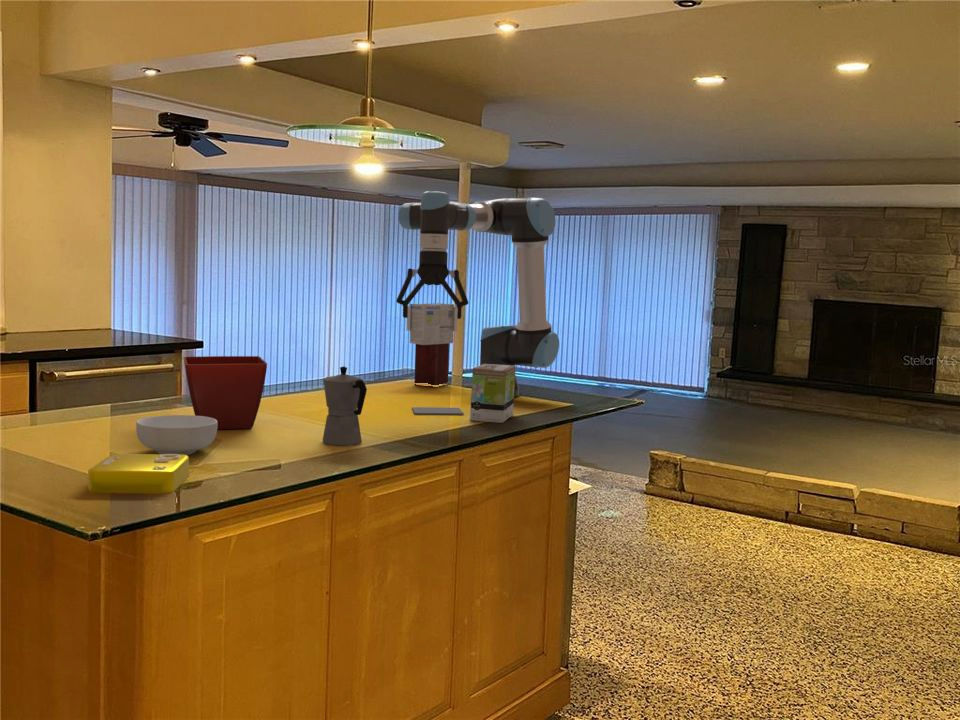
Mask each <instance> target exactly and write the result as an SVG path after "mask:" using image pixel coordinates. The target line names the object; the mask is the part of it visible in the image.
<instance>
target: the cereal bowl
mask: <svg viewBox="0 0 960 720" xmlns="http://www.w3.org/2000/svg"><path fill="white" fill-rule="evenodd" d="M217 423H218V422H217V420H216V419H214V418H210V417H205V416H195V415H193V414H192V415H190V414H189V415H188V414H187V415H186V414H171V415H170V414H168V415H166V414H165V415H153V416H147V417H142V418H139V419H138V420H136V423H135V426H136V427H135V430H136V436H137V439H138V440H139V441H140V443H141V444H142V445H143V446H145V447H146V448H148V449H151V450H153V451H155V452H156V453H157V454H178V455H187V456H189V455H190V456H191V455H193V454H195V453H197V451H198V450H201V449H204V448H206V447H208V446H210V445H211V444H212V443H213V442H214V440H215V438H216V436H217V433H218V429H217V425H218V424H217Z"/></svg>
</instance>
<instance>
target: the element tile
mask: <svg viewBox="0 0 960 720" xmlns="http://www.w3.org/2000/svg"><path fill="white" fill-rule="evenodd" d="M189 477H190V458H189V455H178V454H158V453H157V454H155V453H152V454H151V453H147V454H146V453H114V454H111V455H109V456H107V457H105V458H104V459H103V460H101V461H100V462H98V463H97V464H95V465H94V466H92V467H91V468H89V469H88V470H87V478H88V480H87V482H88V483H87V487H88V491H87V492H90V493H92V494H93V493H94V494H153V495H154V494H157V495H159V494H160V495H161V494H162V495H163V494H169V493H172V492H173V493H174V492H175V491H176V490H177V489H178V488H179V487H180V486H181V485H182V484H183V483H184V482H185V481H186V480H187V479H188V478H189Z"/></svg>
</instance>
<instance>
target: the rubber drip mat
mask: <svg viewBox="0 0 960 720" xmlns="http://www.w3.org/2000/svg"><path fill="white" fill-rule="evenodd" d="M411 411H412V413H413V415H415V416H416V415H418V416H419V415H421V416H425V415H427V416H464V412H463V410H462V409H460V407H442V406H441V407H438V406H436V407H434V406H433V407H431V406H430V407H429V406H428V407H424V406H423V407H422V406H421V407H418V406H417V407H416V406H414V407H413V406H412V407H411Z"/></svg>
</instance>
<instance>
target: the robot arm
mask: <svg viewBox="0 0 960 720" xmlns="http://www.w3.org/2000/svg"><path fill="white" fill-rule="evenodd" d="M397 216H398V218H397V220H398V223H399V225H400V227H402V228H403V229H405V230H411V231H414V230H415V231H416V230H419V249H421V250H420V251H419V261H418V263H419V266H418V269H415V268H407V273H406V274H407V275H406V278H405V280H404V283H403V285H402V287H401V289H400V291H399V294H398V296H397V298H396V303H397V304H399V305H401V306H402V318H404V319H406V331H409V332H410V314H411V306H410V304H411V301H412V300H413V299H414V298H415V296H417V294H418V293H419V291H421V288H422V287H424V285H427V286H432V285H434V286H440V285H441V286H442V287H443V288H444V290H445V292H446V293H447V294H448V295H449V297H450V299H451V300H452V302H453V303H454V305H456V306H454V329H453V332H458V320H461V319H462V308H463V307H464V306H468V304H469V300H468V298H467V295H466V292H465V289H464V288H463V285H462V282H461V279H460V272H459V270H458V269H453V270H451V269H450V270H449V268H448V257H449V255H448V252H447V251H446V250H448V247H449V246H448V245H449V243H448V242H449V238H448V237H449V231H452V230H453V231H468V230H474V231H475V232H477V233H488V234H495V235H500V236H501V235H502V236H511V237H510V238H511V243H512V244H513V245H514V246H515V247H516V260H517V261H516V262H517V284H518V285H517V287H518V307H519V308H518V309H519V311H518V312H519V313H518V314H519V322H518V323H517V324H516V325H515V324H512V325H509V324H508V325H499V326H498V325H497V326H486V327H484V328H483V329H482V330H481V334H480V335H481V336H480V357H479V358H480V362H479V366H480V365H482V364H497V365H510V366H515V367H516V366H518V367H519V366H521V367H530V368H536V369H537V368H541V369H544V368H545V369H546V368H549V367H550V366H552V365H553V364H554V362H555V360H556V358H557V356H558V353H559V349H560V338H559V336H558V334H557V333H556V332H554V331H552V324H551V323H550V322H549V321H548V319H547V302H546V301H547V300H546V299H547V296H546V295H547V294H546V271H545V270H546V269H545V264H546V263H545V245H547V243H548V242H549V236H551V235H552V234H553V233H554V231H555V227H556V213H555V210H554V208H553V206H552V204H551V203H550V202H549V201H548V200H547V199H545V198H543V197H542V198H541V197H531V196H530V197H518V198H517V197H513V198H512V197H511V198H509V197H508V198H507V197H506V198H505V197H503V198H497V199H490V200H483V201H482V200H480V201H478V200H477V201H475V202H474V203H465V202H456V201H451V200H450V196H449V194H448V193H447V192H443V191H424V192H422V194H421V197H420V202H406V203H403V204H402V205H400V208H399V210H398V215H397ZM416 275H418V277H419V278H420V280H419V281H418V283H417V284H416V285H415V286H414V288H413V289H412V290H411V291H410V293H409V294H408V296H407V297H406V298H405V299H404V297H405V295H406V293H407V290H408V288H409V285H411V281H412V279H413V278H415V277H416ZM449 275H450V277H451V278H452V279H453V280H454V284H455V287H456V289H457V291H458V294H459V296H460V299H461V301H460V299H459V298H458V297H457V295H456V294H455V293H454V291H453V290H452V288H451V287H450V285H449V284H448V282H447V281H446V279H447V277H448V276H449ZM403 299H404V300H403ZM519 396H520V386H519V383H518V380H517V375H516V374H515V388H514V398H515V397H519Z"/></svg>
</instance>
